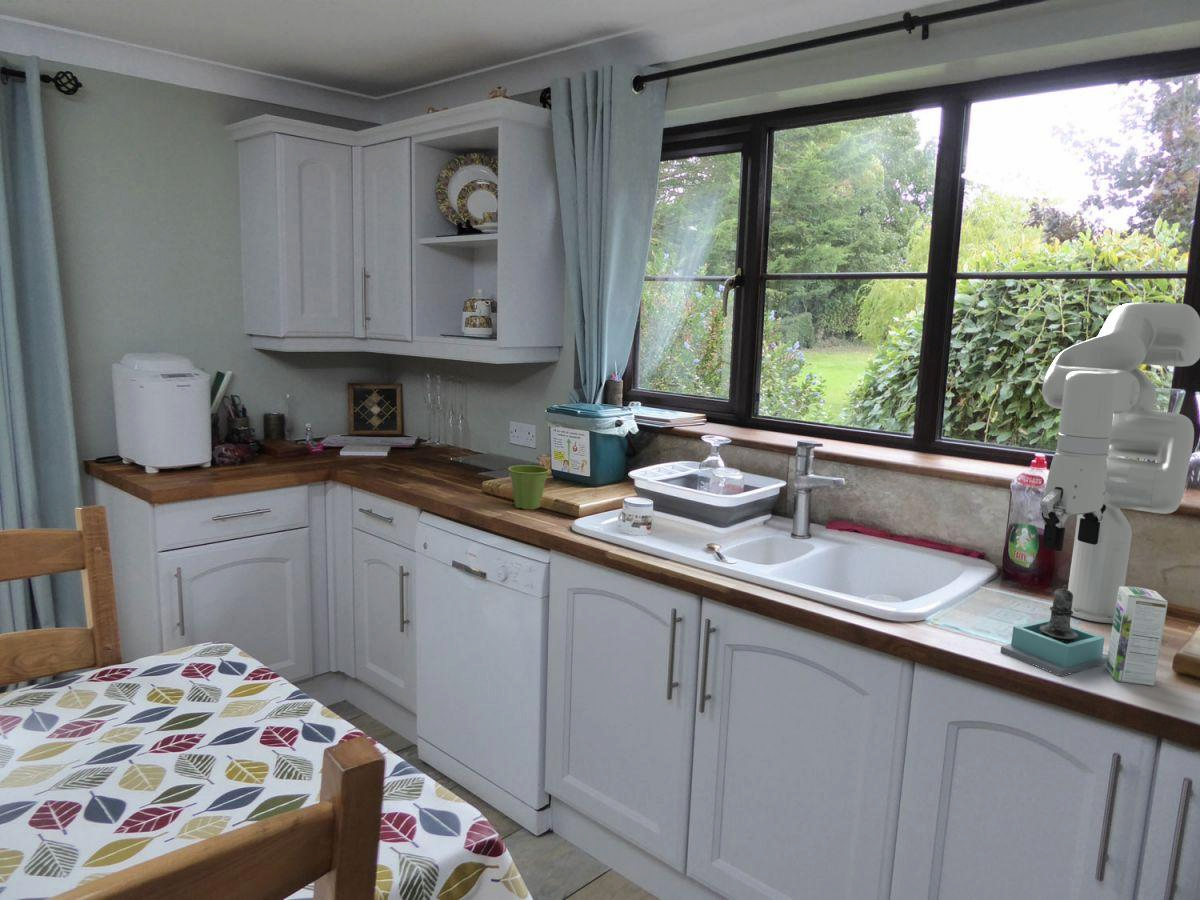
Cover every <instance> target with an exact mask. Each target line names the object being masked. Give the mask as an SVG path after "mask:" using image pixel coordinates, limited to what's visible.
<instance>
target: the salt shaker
mask: <svg viewBox="0 0 1200 900" xmlns="http://www.w3.org/2000/svg"><path fill="white" fill-rule="evenodd" d="M1062 587H1063V588H1059V589H1056V590H1055V591H1054V593H1053V601H1052V606H1050V607H1049V611H1051V612H1050V617H1049V619H1050V621H1049V624H1048V625H1043V626H1040V628H1039V629H1040V631H1041V635H1044V636H1046V637H1049V638H1052V639H1054V640H1057V641H1060V642H1062V643H1065V644H1069V643H1073V642H1075V638H1077V637H1078V634H1077V633H1076V632H1075V631H1073V630H1071V627H1070V626H1071V617H1072V616H1071V614H1073V613H1074V612H1073V611H1072V610H1071V608H1072V601H1073V594H1072V593H1071V592H1070V591H1069V590H1068V586H1067V584H1064V585H1062Z"/></svg>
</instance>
